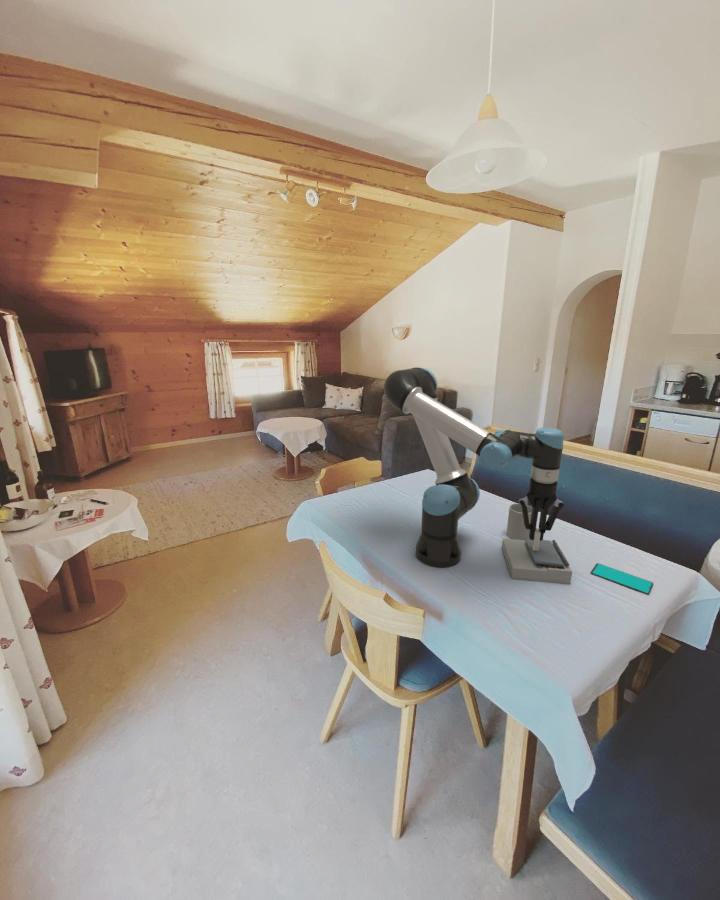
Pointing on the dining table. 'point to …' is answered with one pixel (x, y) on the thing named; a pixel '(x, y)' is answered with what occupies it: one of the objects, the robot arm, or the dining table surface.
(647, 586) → the smartphone
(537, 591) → the dining table surface
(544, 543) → the cover
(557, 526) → the dining table surface
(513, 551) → the hinged lid box
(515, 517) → the mug
